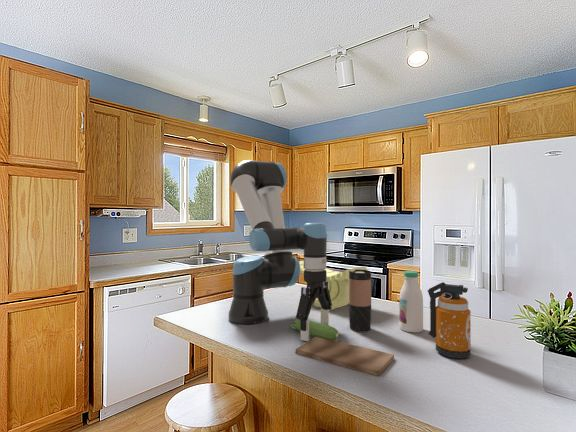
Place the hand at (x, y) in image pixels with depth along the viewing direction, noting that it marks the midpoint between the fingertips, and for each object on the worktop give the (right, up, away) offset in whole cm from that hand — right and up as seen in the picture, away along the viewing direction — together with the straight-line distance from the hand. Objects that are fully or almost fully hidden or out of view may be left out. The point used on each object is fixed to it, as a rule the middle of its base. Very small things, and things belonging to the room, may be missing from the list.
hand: (315, 334), depth 111 cm
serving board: (+7, 0, -17) cm, 18 cm away
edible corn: (-1, -1, 0) cm, 1 cm away
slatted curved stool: (+9, 0, +38) cm, 40 cm away
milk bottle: (+34, 0, +5) cm, 34 cm away
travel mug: (+16, 0, +6) cm, 17 cm away
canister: (+37, 0, -15) cm, 40 cm away
